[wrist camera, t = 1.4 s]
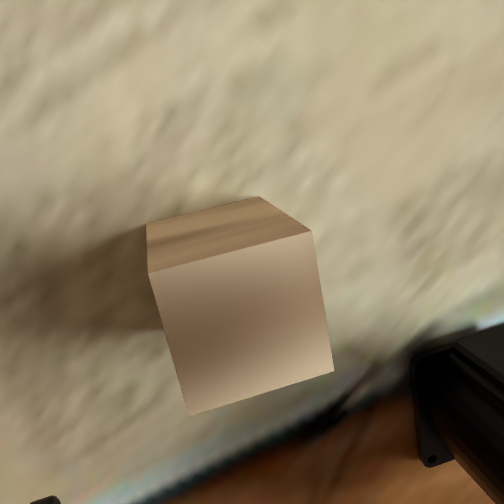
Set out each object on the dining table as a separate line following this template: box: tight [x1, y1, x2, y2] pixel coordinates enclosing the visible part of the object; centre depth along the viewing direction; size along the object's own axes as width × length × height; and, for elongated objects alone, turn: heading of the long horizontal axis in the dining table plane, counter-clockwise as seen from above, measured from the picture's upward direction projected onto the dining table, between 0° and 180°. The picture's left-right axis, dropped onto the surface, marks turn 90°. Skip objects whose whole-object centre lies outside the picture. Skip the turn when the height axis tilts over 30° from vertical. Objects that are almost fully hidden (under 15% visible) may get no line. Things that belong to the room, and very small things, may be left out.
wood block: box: [146, 196, 334, 417], centre depth 16 cm, size 4×4×6 cm
